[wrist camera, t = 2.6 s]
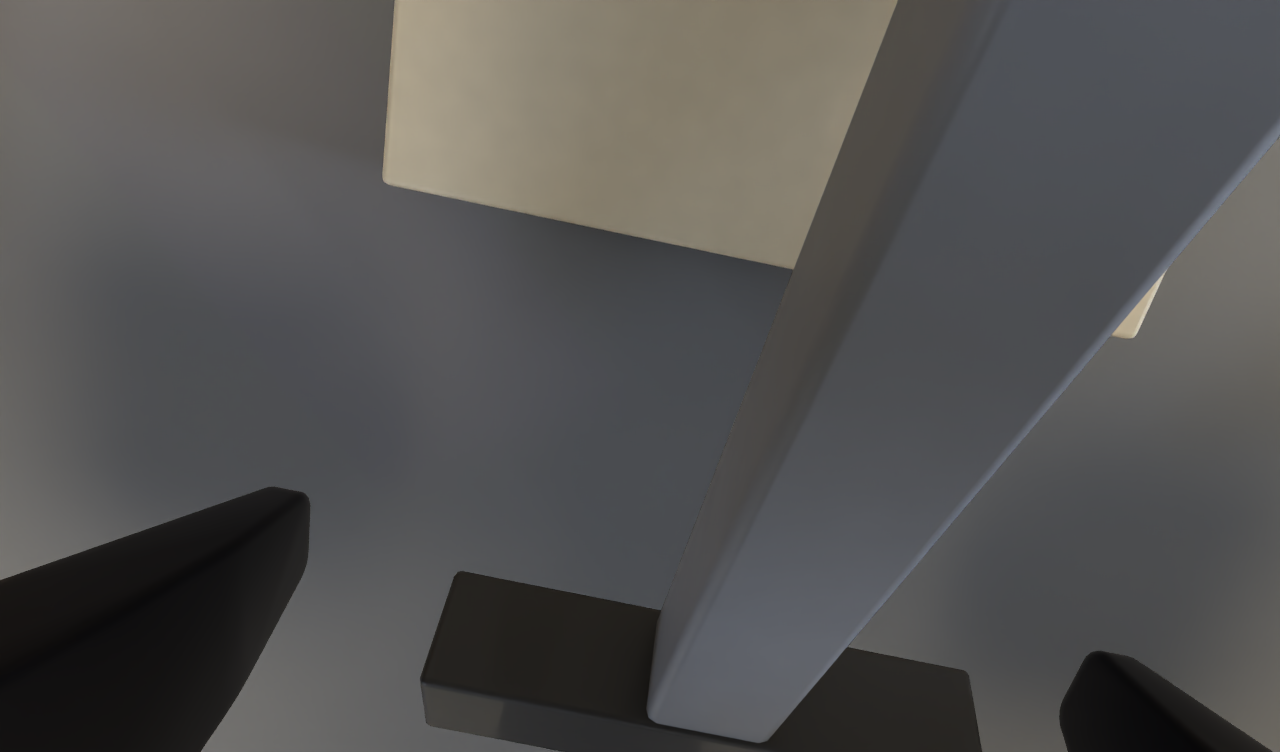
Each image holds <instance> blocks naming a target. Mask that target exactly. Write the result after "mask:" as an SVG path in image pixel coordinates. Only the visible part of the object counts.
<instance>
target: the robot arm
mask: <svg viewBox="0 0 1280 752" xmlns="http://www.w3.org/2000/svg"><path fill="white" fill-rule="evenodd" d="M309 527H310V501H309V498H308V496H307V495H306V494H305V493H303V492H299V491H294V490H289V489H284V488H279V487H267V488H264V489H261V490H258V491H255V492H252V493H250V494H247V495H244V496H241V497H238V498H235V499H232V500H229V501H227V502H224V503H221V504H218V505H215V506H212V507H209V508H207V509H204V510H201V511H198V512H195V513H192V514H189V515H186V516H184V517H181V518H178V519H175V520H172V521H169V522H166V523H163V524H161V525H158V526H155V527H152V528H149V529H146V530H143V531H140V532H138V533H135V534H132V535H129V536H126V537H123V538H120V539H117V540H115V541H112V542H109V543H106V544H103V545H100V546H97V547H94V548H92V549H89V550H86V551H83V552H80V553H77V554H74V555H71V556H69V557H66V558H63V559H60V560H57V561H54V562H51V563H48V564H46V565H43V566H40V567H37V568H34V569H31V570H28V571H25V572H23V573H20V574H17V575H14V576H11V577H8V578H5V579H2V580H0V752H201V750H202V749H203V747H204V746H205V744H206V743H207V741H208V740H209V738H210V737H211V735H212V734H213V733H214V731H215V730H216V728H217V727H218V725H219V724H220V722H221V721H222V719H223V718H224V716H225V715H226V713H227V712H228V710H229V709H230V707H231V706H232V704H233V702H234V701H235V699H236V698H237V696H238V695H239V693H240V691H241V689H242V687H243V686H244V684H245V682H246V680H247V679H248V677H249V675H250V673H251V671H252V669H253V668H254V666H255V664H256V662H257V660H258V658H259V656H260V654H261V653H262V651H263V649H264V647H265V645H266V643H267V641H268V639H269V638H270V636H271V634H272V632H273V630H274V628H275V626H276V624H277V623H278V621H279V619H280V617H281V615H282V613H283V611H284V609H285V608H286V606H287V604H288V602H289V600H290V598H291V596H292V594H293V593H294V591H295V589H296V587H297V585H298V583H299V581H300V579H301V577H302V575H303V573H304V570H305V567H306V564H307V560H308V550H309ZM1059 718H1060V726H1061V730H1062V733H1063V737H1064V740H1065V743H1066V746H1067V750H1068V752H1272V751H1271V750H1269V749H1268V748H1266V747H1265V746H1263V745H1262V744H1260V743H1259V742H1258V741H1256V740H1255V739H1253V738H1252V737H1250V736H1249V735H1247V734H1246V733H1244V732H1243V731H1241V730H1240V729H1238V728H1237V727H1235V726H1234V725H1232V724H1231V723H1229V722H1228V721H1226V720H1225V719H1223V718H1222V717H1220V716H1219V715H1217V714H1216V713H1214V712H1213V711H1211V710H1210V709H1209V708H1207V707H1206V706H1204V705H1203V704H1201V703H1200V702H1198V701H1197V700H1195V699H1194V698H1192V697H1191V696H1189V695H1188V694H1186V693H1185V692H1183V691H1182V690H1180V689H1179V688H1177V687H1176V686H1174V685H1173V684H1171V683H1170V682H1168V681H1167V680H1165V679H1164V678H1162V677H1161V676H1160V675H1158V674H1157V673H1155V672H1154V671H1152V670H1151V669H1149V668H1148V667H1146V666H1145V665H1143V664H1142V663H1140V662H1139V661H1137V660H1135V659H1134V658H1131V657H1128V656H1125V655H1119V654H1114V653H1109V652H1104V651H1095V652H1092V653H1090V654H1089V655H1088V656H1086V658H1085V659H1084V661H1083V663H1082V664H1081V666H1080V668H1079V670H1078V672H1077V674H1076V676H1075V678H1074V680H1073V682H1072V684H1071V685H1070V687H1069V689H1068V691H1067V693H1066V695H1065V697H1064V699H1063V701H1062V703H1061V707H1060V715H1059Z"/></svg>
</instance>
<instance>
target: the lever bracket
mask: <svg viewBox="0 0 1280 752" xmlns="http://www.w3.org/2000/svg"><path fill="white" fill-rule="evenodd" d="M897 1H898V0H395V4H394V18H393V32H392V46H391V61H390V75H389V89H388V103H387V117H386V131H385V145H384V159H383V174H382V176H383V181H384V182H385V183H387V184H388V185H391V186H395V187H400V188H405V189H410V190H415V191H419V192H424V193H429V194H434V195H439V196H443V197H448V198H453V199H458V200H462V201H467V202H472V203H477V204H482V205H486V206H491V207H496V208H501V209H506V210H510V211H515V212H520V213H525V214H530V215H534V216H539V217H544V218H549V219H553V220H558V221H563V222H568V223H573V224H577V225H582V226H587V227H592V228H597V229H601V230H606V231H611V232H616V233H620V234H625V235H630V236H635V237H640V238H644V239H649V240H654V241H659V242H664V243H668V244H673V245H678V246H683V247H688V248H692V249H697V250H702V251H707V252H711V253H716V254H721V255H726V256H731V257H735V258H740V259H745V260H750V261H755V262H759V263H764V264H769V265H774V266H778V267H783V268H788V269H793V270H794V267H795V264H796V262H797V259H798V257H799V254H800V251H801V249H802V246H803V244H804V241H805V239H806V236H807V233H808V231H809V228H810V226H811V223H812V221H813V218H814V215H815V213H816V210H817V208H818V205H819V203H820V200H821V197H822V195H823V192H824V190H825V187H826V184H827V182H828V179H829V177H830V174H831V172H832V169H833V166H834V164H835V161H836V159H837V156H838V154H839V151H840V148H841V146H842V143H843V141H844V138H845V135H846V133H847V130H848V128H849V125H850V123H851V120H852V117H853V115H854V112H855V110H856V107H857V105H858V102H859V99H860V97H861V94H862V92H863V89H864V86H865V84H866V81H867V79H868V76H869V74H870V71H871V68H872V66H873V63H874V61H875V58H876V56H877V53H878V50H879V48H880V45H881V43H882V40H883V38H884V35H885V32H886V30H887V27H888V25H889V22H890V19H891V17H892V14H893V12H894V9H895V7H896V4H897ZM1165 272H1166V271H1165ZM1165 272H1164V273H1163V275H1162V276H1161V277H1160V278H1159V279H1158V280H1157V282H1156V283H1155V284H1154V285H1153V286H1152V287H1151V289H1150V290H1149V291H1148V292H1147V293H1146V295H1145V296H1144V297H1143V298H1142V299H1141V300H1140V302H1139V303H1138V304H1137V305H1136V306H1135V308H1134V309H1133V310H1132V311H1131V312H1130V313H1129V315H1128V316H1127V317H1126V318H1125V319H1124V321H1123V322H1122V323H1121V324H1120V325H1119V326H1118V328H1117V329H1116V330H1115V331H1114V332H1113V334H1112V335H1111V336H1114V337H1118V338H1123V339H1128V338H1134V337H1135V336H1136V334H1137V332H1138V330H1139V328H1140V326H1141V324H1142V322H1143V320H1144V317H1145V315H1146V313H1147V311H1148V309H1149V307H1150V304H1151V302H1152V300H1153V298H1154V296H1155V294H1156V292H1157V289H1158V287H1159V285H1160V283H1161V281H1162V279H1163V276H1164V274H1165Z"/></svg>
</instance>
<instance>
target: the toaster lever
mask: <svg viewBox="0 0 1280 752" xmlns="http://www.w3.org/2000/svg"><path fill="white" fill-rule="evenodd" d="M1279 136H1280V0H898V1H897V4H896V7H895V9H894V12H893V14H892V17H891V19H890V22H889V25H888V27H887V30H886V32H885V35H884V38H883V40H882V43H881V45H880V48H879V50H878V53H877V56H876V58H875V61H874V63H873V66H872V68H871V71H870V74H869V76H868V79H867V81H866V84H865V86H864V89H863V92H862V94H861V97H860V99H859V102H858V105H857V107H856V110H855V112H854V115H853V117H852V120H851V123H850V125H849V128H848V130H847V133H846V135H845V138H844V141H843V143H842V146H841V148H840V151H839V154H838V156H837V159H836V161H835V164H834V166H833V169H832V172H831V174H830V177H829V179H828V182H827V184H826V187H825V190H824V192H823V195H822V197H821V200H820V203H819V205H818V208H817V210H816V213H815V215H814V218H813V221H812V223H811V226H810V228H809V231H808V233H807V236H806V239H805V241H804V244H803V246H802V249H801V251H800V254H799V257H798V259H797V262H796V264H795V267H794V270H793V272H792V275H791V277H790V280H789V282H788V285H787V288H786V290H785V293H784V295H783V298H782V300H781V303H780V306H779V308H778V311H777V313H776V316H775V319H774V321H773V324H772V326H771V329H770V331H769V334H768V337H767V339H766V342H765V344H764V347H763V349H762V352H761V355H760V357H759V360H758V362H757V365H756V367H755V370H754V373H753V375H752V378H751V380H750V383H749V386H748V388H747V391H746V393H745V396H744V398H743V401H742V404H741V406H740V409H739V411H738V414H737V416H736V419H735V422H734V424H733V427H732V429H731V432H730V435H729V437H728V440H727V442H726V445H725V447H724V450H723V453H722V455H721V458H720V460H719V463H718V465H717V468H716V471H715V473H714V476H713V478H712V481H711V484H710V486H709V489H708V491H707V494H706V496H705V499H704V502H703V504H702V507H701V509H700V512H699V514H698V517H697V520H696V522H695V525H694V527H693V530H692V532H691V535H690V538H689V540H688V543H687V545H686V548H685V551H684V553H683V556H682V558H681V561H680V563H679V566H678V569H677V571H676V574H675V576H674V579H673V581H672V584H671V587H670V589H669V592H668V594H667V597H666V600H665V602H664V605H663V607H662V610H656V609H651V608H646V607H641V606H636V605H631V604H626V603H621V602H616V601H610V600H605V599H600V598H595V597H590V596H585V595H580V594H575V593H570V592H565V591H560V590H555V589H550V588H545V587H540V586H535V585H530V584H525V583H519V582H514V581H509V580H504V579H499V578H494V577H489V576H484V575H479V574H474V573H469V572H464V571H460V572H457V574H456V575H455V576H454V579H453V582H452V584H451V587H450V590H449V593H448V596H447V599H446V602H445V605H444V608H443V611H442V614H441V617H440V620H439V623H438V626H437V629H436V632H435V635H434V638H433V641H432V644H431V647H430V650H429V653H428V656H427V659H426V662H425V665H424V668H423V671H422V674H421V677H420V682H421V690H422V697H423V704H424V711H425V718H426V723H427V724H428V725H430V726H433V727H438V728H444V729H449V730H454V731H459V732H464V733H470V734H475V735H480V736H485V737H490V738H495V739H501V740H506V741H511V742H516V743H521V744H527V745H532V746H537V747H542V748H547V749H552V750H558V751H563V752H982V749H981V743H980V737H979V732H978V726H977V720H976V714H975V708H974V703H973V697H972V691H971V685H970V679H969V675H968V673H967V672H966V671H964V670H959V669H954V668H949V667H944V666H939V665H934V664H929V663H924V662H919V661H914V660H909V659H904V658H899V657H894V656H888V655H883V654H878V653H873V652H868V651H863V650H858V649H853V648H848V647H847V646H848V645H849V644H850V643H851V642H852V640H853V639H854V638H855V637H856V636H857V635H858V633H859V632H860V631H861V630H862V629H863V627H864V626H865V625H866V624H867V623H868V622H869V620H870V619H871V618H872V617H873V616H874V615H875V613H876V612H877V611H878V610H879V609H880V607H881V606H882V605H883V604H884V603H885V602H886V600H887V599H888V598H889V597H890V596H891V594H892V593H893V592H894V591H895V590H896V589H897V587H898V586H899V585H900V584H901V583H902V581H903V580H904V579H905V578H906V577H907V576H908V574H909V573H910V572H911V571H912V570H913V568H914V567H915V566H916V565H917V564H918V563H919V561H920V560H921V559H922V558H923V557H924V555H925V554H926V553H927V552H928V551H929V550H930V548H931V547H932V546H933V545H934V544H935V542H936V541H937V540H938V539H939V538H940V537H941V535H942V534H943V533H944V532H945V531H946V530H947V528H948V527H949V526H950V525H951V524H952V522H953V521H954V520H955V519H956V518H957V517H958V515H959V514H960V513H961V512H962V511H963V509H964V508H965V507H966V506H967V505H968V504H969V502H970V501H971V500H972V499H973V498H974V496H975V495H976V494H977V493H978V492H979V491H980V489H981V488H982V487H983V486H984V485H985V483H986V482H987V481H988V480H989V479H990V478H991V476H992V475H993V474H994V473H995V472H996V470H997V469H998V468H999V467H1000V466H1001V465H1002V463H1003V462H1004V461H1005V460H1006V459H1007V457H1008V456H1009V455H1010V454H1011V453H1012V452H1013V450H1014V449H1015V448H1016V447H1017V446H1018V445H1019V443H1020V442H1021V441H1022V440H1023V439H1024V437H1025V436H1026V435H1027V434H1028V433H1029V432H1030V430H1031V429H1032V428H1033V427H1034V426H1035V424H1036V423H1037V422H1038V421H1039V420H1040V419H1041V417H1042V416H1043V415H1044V414H1045V413H1046V411H1047V410H1048V409H1049V408H1050V407H1051V406H1052V404H1053V403H1054V402H1055V401H1056V400H1057V398H1058V397H1059V396H1060V395H1061V394H1062V393H1063V391H1064V390H1065V389H1066V388H1067V387H1068V385H1069V384H1070V383H1071V382H1072V381H1073V380H1074V378H1075V377H1076V376H1077V375H1078V374H1079V372H1080V371H1081V370H1082V369H1083V368H1084V367H1085V365H1086V364H1087V363H1088V362H1089V361H1090V360H1091V358H1092V357H1093V356H1094V355H1095V354H1096V352H1097V351H1098V350H1099V349H1100V348H1101V347H1102V345H1103V344H1104V343H1105V342H1106V341H1107V339H1108V338H1109V337H1110V336H1111V335H1112V334H1113V332H1114V331H1115V330H1116V329H1117V328H1118V326H1119V325H1120V324H1121V323H1122V322H1123V321H1124V319H1125V318H1126V317H1127V316H1128V315H1129V313H1130V312H1131V311H1132V310H1133V309H1134V308H1135V306H1136V305H1137V304H1138V303H1139V302H1140V300H1141V299H1142V298H1143V297H1144V296H1145V295H1146V293H1147V292H1148V291H1149V290H1150V289H1151V287H1152V286H1153V285H1154V284H1155V283H1156V282H1157V280H1158V279H1159V278H1160V277H1161V276H1162V275H1163V273H1164V272H1165V271H1166V270H1167V269H1168V267H1169V266H1170V265H1171V264H1172V263H1173V262H1174V260H1175V259H1176V258H1177V257H1178V256H1179V254H1180V253H1181V252H1182V251H1183V250H1184V249H1185V247H1186V246H1187V245H1188V244H1189V243H1190V241H1191V240H1192V239H1193V238H1194V237H1195V236H1196V234H1197V233H1198V232H1199V231H1200V230H1201V228H1202V227H1203V226H1204V225H1205V224H1206V223H1207V221H1208V220H1209V219H1210V218H1211V217H1212V215H1213V214H1214V213H1215V212H1216V211H1217V210H1218V208H1219V207H1220V206H1221V205H1222V204H1223V202H1224V201H1225V200H1226V199H1227V198H1228V197H1229V195H1230V194H1231V193H1232V192H1233V191H1234V190H1235V188H1236V187H1237V186H1238V185H1239V184H1240V182H1241V181H1242V180H1243V179H1244V178H1245V177H1246V175H1247V174H1248V173H1249V172H1250V171H1251V169H1252V168H1253V167H1254V166H1255V165H1256V164H1257V162H1258V161H1259V160H1260V159H1261V158H1262V156H1263V155H1264V154H1265V153H1266V152H1267V151H1268V149H1269V148H1270V147H1271V146H1272V145H1273V143H1274V142H1275V141H1276V140H1277V139H1278V138H1279Z"/></svg>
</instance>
